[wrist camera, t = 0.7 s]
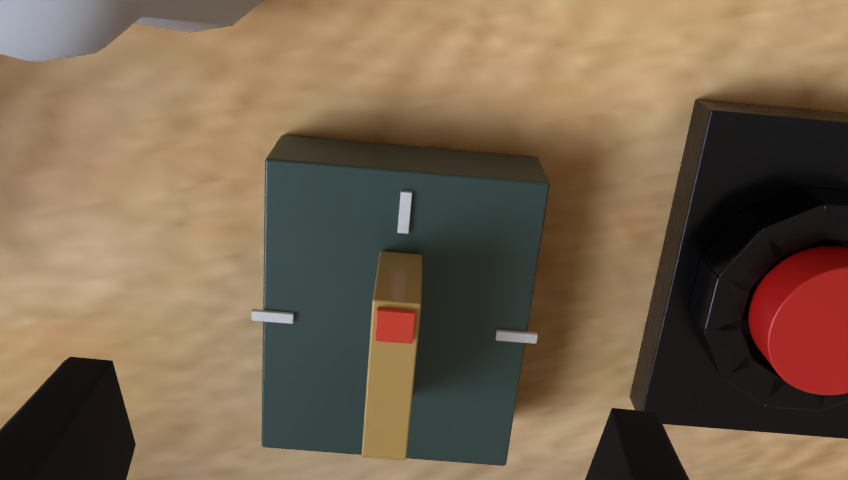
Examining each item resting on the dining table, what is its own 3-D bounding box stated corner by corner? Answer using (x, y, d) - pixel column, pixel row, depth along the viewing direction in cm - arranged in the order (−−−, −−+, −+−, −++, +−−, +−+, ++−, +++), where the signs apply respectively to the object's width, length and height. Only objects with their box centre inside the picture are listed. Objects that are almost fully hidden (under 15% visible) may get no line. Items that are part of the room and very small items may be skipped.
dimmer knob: (409, 396, 28) (405, 466, 24) (369, 393, 28) (360, 462, 24) (422, 253, 26) (421, 308, 22) (379, 250, 26) (371, 303, 22)
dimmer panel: (508, 419, 32) (516, 470, 29) (267, 400, 32) (250, 449, 29) (548, 157, 28) (562, 186, 25) (271, 133, 28) (252, 159, 25)
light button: (864, 372, 27) (891, 401, 26) (732, 361, 27) (751, 390, 26) (906, 251, 26) (938, 273, 24) (766, 239, 26) (789, 261, 24)
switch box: (851, 415, 32) (899, 472, 29) (629, 397, 32) (652, 452, 28) (954, 122, 27) (1025, 150, 24) (694, 98, 27) (731, 124, 24)
